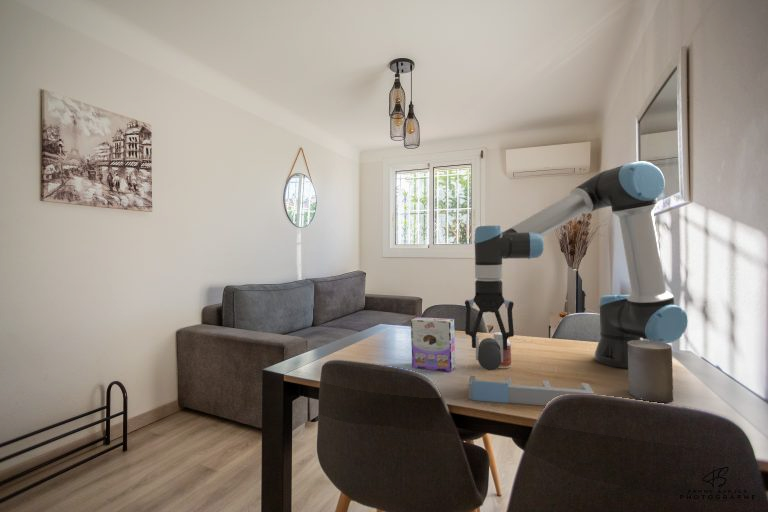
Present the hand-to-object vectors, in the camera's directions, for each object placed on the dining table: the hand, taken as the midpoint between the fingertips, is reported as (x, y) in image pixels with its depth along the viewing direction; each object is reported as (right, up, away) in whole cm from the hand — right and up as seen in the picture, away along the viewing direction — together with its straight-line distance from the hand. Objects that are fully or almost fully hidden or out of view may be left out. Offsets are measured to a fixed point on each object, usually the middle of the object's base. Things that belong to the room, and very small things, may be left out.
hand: (489, 359), depth 109 cm
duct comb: (+7, -8, -10) cm, 14 cm away
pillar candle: (+40, -7, -9) cm, 41 cm away
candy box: (-14, -8, +19) cm, 24 cm away
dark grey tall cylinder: (-1, 0, -3) cm, 3 cm away
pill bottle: (+9, -7, +18) cm, 22 cm away
